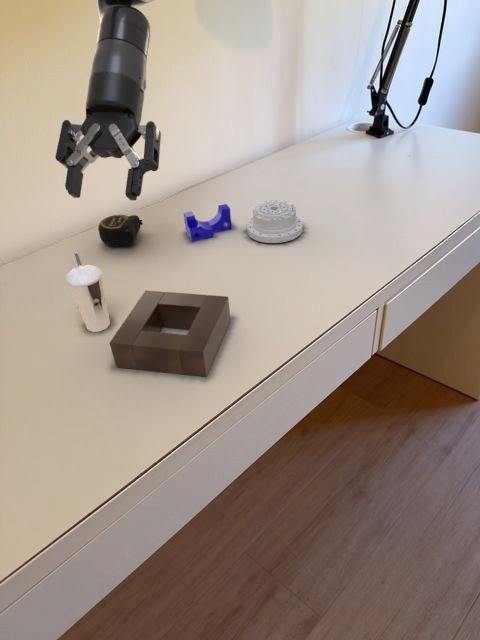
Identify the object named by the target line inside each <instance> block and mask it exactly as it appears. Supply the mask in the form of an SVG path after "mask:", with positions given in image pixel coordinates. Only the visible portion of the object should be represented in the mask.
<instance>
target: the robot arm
mask: <svg viewBox="0 0 480 640" xmlns="http://www.w3.org/2000/svg"><path fill="white" fill-rule="evenodd" d="M154 1H155V0H96V3H97V9H98V11H97V12H98V16H99V25H98V32H97V38H96V45H95V51H94V53H93V57H92V62H91V66H90V72H89V80H88V89H87V92H86V93H87V94H86V101H85V119H84V120H83V122H82V123H81V124H76V123H72V122H71V121H70V120H68V119H65V120H63V121H62V122H61V123H62V124H61V127H60V133H59V137H58V143H57V146H56V147H57V148H56V152H55V156H54V157H55V160H56V161H57V162H58V163H60V164H61V165H62V166H63V167H64V168H65V169H66V177H65V182H64V183H65V184H64V187H65V190H66V191H67V193H68V195H69V196H71V197H72V198H75V199H79V198H81V193H82V186H83V179H84V171H85V169H86V168H87V167H88V166H89V165H90V164H93V163H95V162H96V160H98V158H100V159H106V158H107V159H108V158H114V159H123V158H122V157H125V159H126V160H127V161H128V163H129V165H130V166H131V168H128V170H127V175H126V176H127V177H126V185H125V192H124V194H125V197H126V198H128V200H130V201H137V199H138V197H140V196H141V194H142V188H143V187H142V186H143V181H144V176H145V174H146V173H149V172H151V171H152V172H157V171H158V170H159V167H160V166H159V165H160V153H161V140H162V139H161V137H162V133H161V131H160V129H159V127H158V126H157V125H156V124H155V122H154V121H153V120H150V121H147V123H146V124H143V125H140V124H141V123H142V116H143V108H144V102H145V93H146V89H147V77H148V57H149V50H150V43H151V25H150V22H149V20H148V18H147V16H146V15H145V14H144V13H143V12H142V11H141V10H140V9H138V8H140V7H142V6H145V5H147V4H149V3H151V2H154ZM81 136H83V137H82V138H81ZM141 138H142V139H143V140H144V147H143V158H140V157H139V155H138V153H137V151H136V150H135V148H134V146H135V144H136V143H137V142H138V141H139V140H140V139H141ZM88 148H90V151H88Z"/></svg>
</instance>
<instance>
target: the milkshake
mask: <svg viewBox="0 0 480 640" xmlns="http://www.w3.org/2000/svg"><path fill="white" fill-rule="evenodd" d="M74 256H75V261H76V264H77V267H73V268H71V269H70V270H69V271H68V272H67V274H66V276H65V282H66V284H67V286H68V288H69V290H70V293H71V294H72V297H73V299H74V301H75V302H76V306H77V308H78V310H79V312H80V315H81V317H82V320H83V322H84V325H85V327H86V329H87V331H88V332H89V331H90V332H92V333H98V332H102V331H104V330H106V329H108V328H109V326H110V325H111V321H110V316H109V311H108V305H107V300H106V294H105V288H104V287H105V286H104V280H103V274H102V270H101V268H99V267H98V266H96V265H91V264H85V265H82V261H81V257H80V255H79V252H75V253H74Z"/></svg>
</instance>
